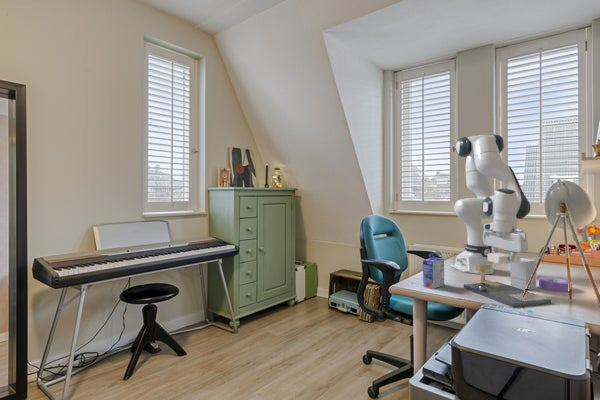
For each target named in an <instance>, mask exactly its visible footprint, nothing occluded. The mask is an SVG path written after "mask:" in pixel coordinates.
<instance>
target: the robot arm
mask: <svg viewBox="0 0 600 400" xmlns="http://www.w3.org/2000/svg"><path fill="white" fill-rule="evenodd" d="M504 143H505V142H504V139H503V137H502V136H501V135H500V134H479V135H472V136H463V137H461V138H459V139H457V142H456V145H455V150H456V152H457V153H456V154H457V155H458V156H459V157H461V158H466V160H465V170H464V171H465V182H466V183H465V184H466V187H467V190H469V191H471V192H472V193H473V194H475V196H476V197H467V198H461V199H458V200H457V201H456V202H455V204H454V206H453V207H454V209H453V211H454V213H455V215H456V216H457V218H459V219H461V220H462V222H463V223H464V226H465V228H466V235H467V236H466V237H467V244H465V245H463V247H465V248H464V251H462V252H461V253H458V255H456V258H455V263H451V264H450V267H452V268H454V269H456V270H458V271H460V272H463V273H470V274H478V275H479V274H480V275H481V271H476V265H482V264H489V265H491V268H490V270H485V275H492V274H494V273H495V268H494V265H493V263H494V262H491V261H487V259H488V254H490V253H499V251H498V250H499V249H500V250H506V251H510V252H509V253H511V255H510V257H508V261H510V262H514V257H515V256H516V255H517V254H526V253H527V252H528V251H529V250H528V249H529V247H528V246H529V245H528V237H527V233H526V232H525V231H524V230H523V229H518V220H522V219H524V218H526V216H528V215H529V213H530V212H531V204H530V201H529V200H528V198H527V197H526V195H525V193H524V191H523V189H522V187H521V185H520V182H519V180H518V178H517V176H516V174H515V172H514V170H513V168H512V167H511V166H510V165H508V164H506V162H505V161H504V160H503V159H502V157H501V152H502V151H503V150H504V145H505V144H504ZM490 178H493V179H496V180H498V181H500V182H502V183H503V184H504V185H505V187H506V188H498V189H495V191H494V190H493V188H492V187H491V183H490V182H491V181H490ZM482 219H484V220H486V219H487V220H488V219H490V220H492V222H489V223H485V224H483V222H482Z"/></svg>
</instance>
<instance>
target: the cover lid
mask: <svg viewBox="0 0 600 400" xmlns="http://www.w3.org/2000/svg"><path fill="white" fill-rule="evenodd" d="M510 255H511V253H510V252H498V253H493V252H491V253H490V254H488V259H487V261H491V262H492V263H494V264H499V265H500V264H511V263H515V262H520V258H521V254H519V253H517V255H516V256H515V257H514V262H510V261H508V257H510Z"/></svg>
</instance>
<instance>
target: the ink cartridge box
mask: <svg viewBox="0 0 600 400" xmlns="http://www.w3.org/2000/svg"><path fill="white" fill-rule="evenodd" d="M422 276H423V277H422V282H423V285H422V286H423V287H424V288H427V289H433V290H434V289H438V288H439V287H442V286H445V259H444V258H441V257H440V258H439V257H435V254H434V253H432V252H431V253H429V254H428V258H427V259H424V260H422Z"/></svg>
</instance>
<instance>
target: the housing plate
mask: <svg viewBox="0 0 600 400" xmlns="http://www.w3.org/2000/svg"><path fill="white" fill-rule="evenodd" d="M495 282H496V283H500V284H501V286H494V285H490V284H486V283H485V286H481V282H478V283H477V282H475V283H467V284H465V283H464V284H463V289H465V290H467V291H470V292H473V293H476V294H478V295H481V296H483V297H486V298H488V299H491V300H492V301H496V302H497V303H498V302H499V303H500V304H502V305H505V306H509V307H511V308H521V307H530V306H539V305H540V306H541V305H551V304H552V299H551V298H549V297H546V296H543V295H540V294H537V293H535V292H530V291H527V293H526V295H525V296H524V297H523V293H524V291H525V290H523V289H519V288H516V287H513V286H510V284H509V285H508V284H505V283H503V282H499V281H495Z"/></svg>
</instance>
